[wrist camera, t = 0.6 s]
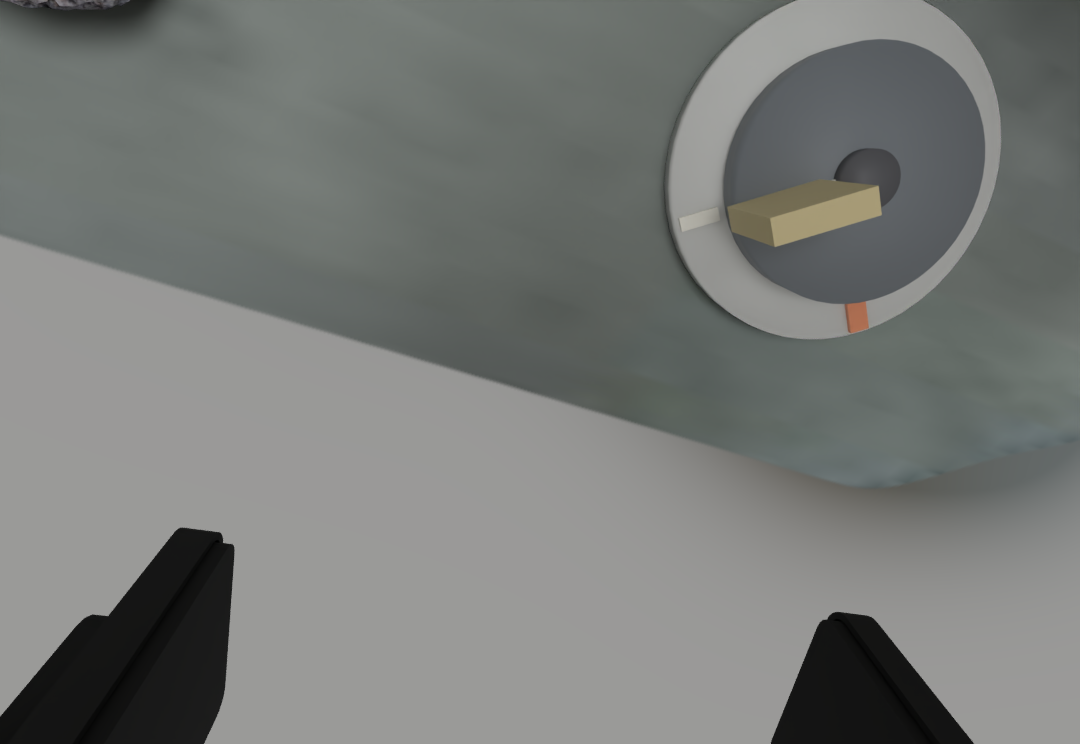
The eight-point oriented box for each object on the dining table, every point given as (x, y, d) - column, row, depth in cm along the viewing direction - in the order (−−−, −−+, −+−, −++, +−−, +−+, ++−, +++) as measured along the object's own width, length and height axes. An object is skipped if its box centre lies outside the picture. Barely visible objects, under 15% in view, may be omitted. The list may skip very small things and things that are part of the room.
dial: (948, 12, 32) (1071, -22, 25) (964, 258, 36) (1074, 284, 29) (692, 90, 32) (746, 76, 25) (736, 325, 36) (794, 367, 29)
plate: (876, -91, 32) (898, -104, 30) (1034, 191, 37) (1061, 193, 35) (597, 159, 34) (603, 159, 32) (781, 390, 39) (794, 401, 38)
